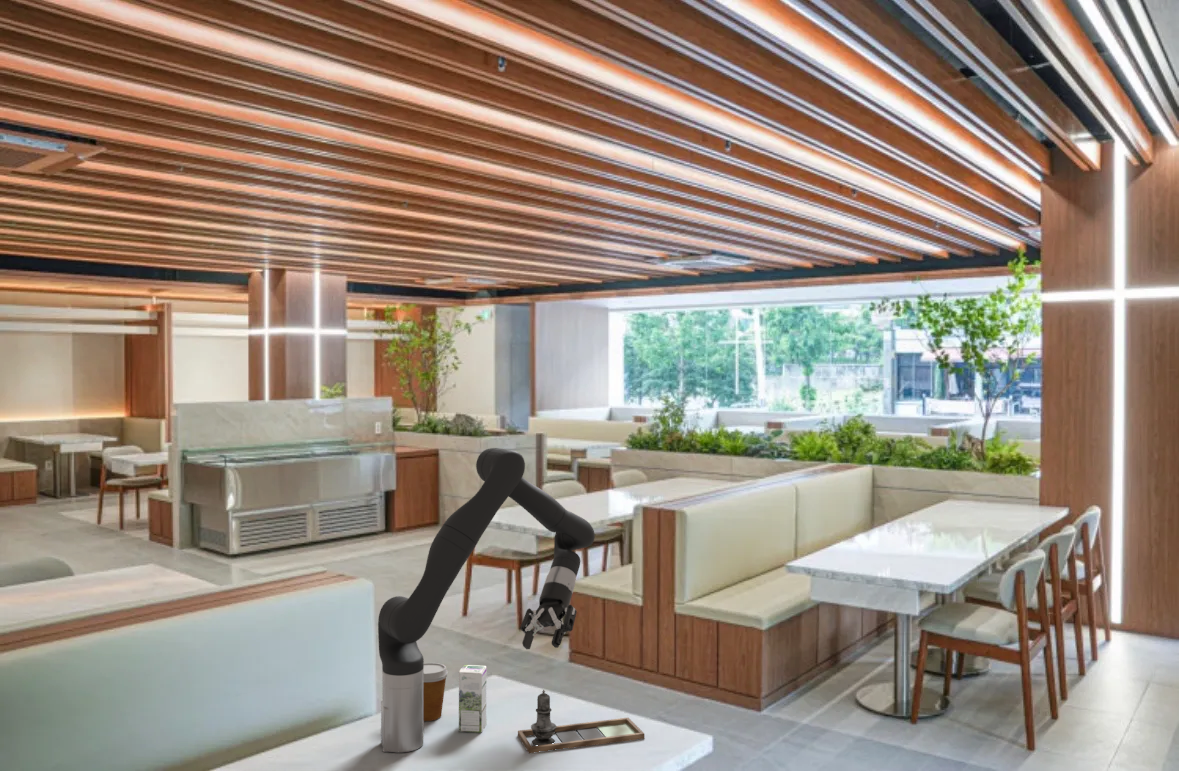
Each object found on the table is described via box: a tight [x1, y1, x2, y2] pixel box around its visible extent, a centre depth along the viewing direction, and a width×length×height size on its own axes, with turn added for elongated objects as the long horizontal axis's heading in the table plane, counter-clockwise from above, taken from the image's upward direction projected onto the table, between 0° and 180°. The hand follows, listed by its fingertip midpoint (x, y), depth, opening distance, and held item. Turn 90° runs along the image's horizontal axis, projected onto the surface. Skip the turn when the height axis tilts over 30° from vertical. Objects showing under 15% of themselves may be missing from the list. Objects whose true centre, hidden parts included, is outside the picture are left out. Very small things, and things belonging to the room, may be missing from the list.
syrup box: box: [458, 664, 488, 734], centre depth 213 cm, size 6×6×14 cm
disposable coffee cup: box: [423, 662, 449, 722], centre depth 221 cm, size 10×10×12 cm
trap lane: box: [517, 717, 645, 754], centre depth 208 cm, size 28×11×1 cm, turn 108°
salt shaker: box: [530, 689, 557, 746], centre depth 205 cm, size 6×6×12 cm
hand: (540, 646), depth 214 cm, fingers open, 8 cm apart
